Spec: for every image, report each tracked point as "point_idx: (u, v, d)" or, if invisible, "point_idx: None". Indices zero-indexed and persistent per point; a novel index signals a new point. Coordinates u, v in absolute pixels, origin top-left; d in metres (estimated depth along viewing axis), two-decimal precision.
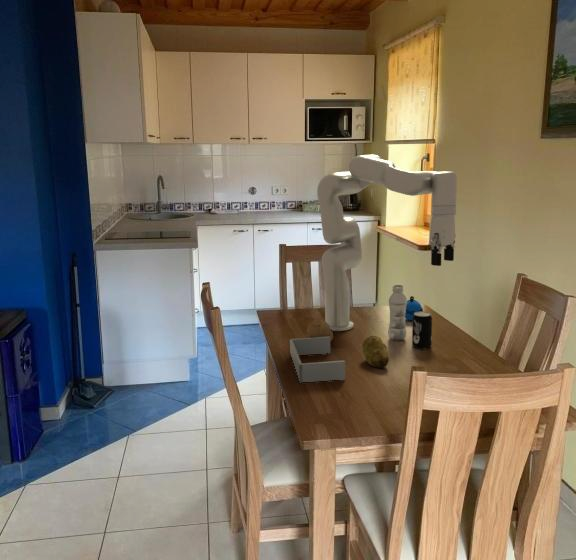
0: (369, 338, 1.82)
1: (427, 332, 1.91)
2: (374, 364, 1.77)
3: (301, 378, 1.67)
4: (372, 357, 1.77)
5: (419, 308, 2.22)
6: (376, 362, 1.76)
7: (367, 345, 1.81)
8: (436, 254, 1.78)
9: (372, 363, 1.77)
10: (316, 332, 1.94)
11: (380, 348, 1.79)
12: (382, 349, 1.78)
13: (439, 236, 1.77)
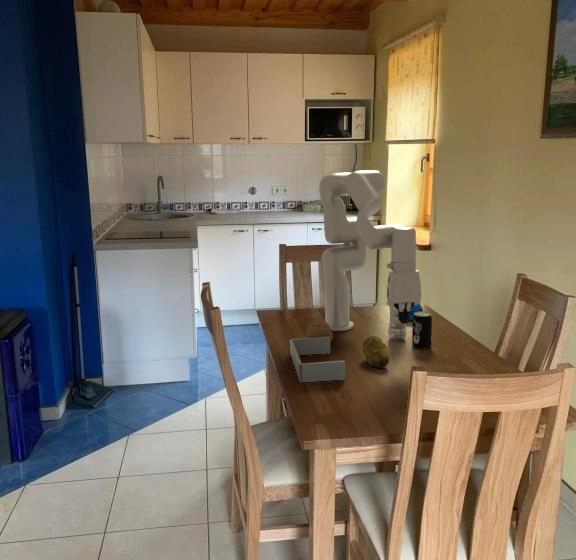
0: (369, 338, 1.82)
1: (427, 332, 1.91)
2: (374, 364, 1.77)
3: (301, 378, 1.67)
4: (372, 357, 1.77)
5: (419, 308, 2.22)
6: (376, 362, 1.76)
7: (367, 345, 1.81)
8: None
9: (372, 363, 1.77)
10: (316, 332, 1.94)
11: (380, 348, 1.78)
12: (383, 349, 1.78)
13: None
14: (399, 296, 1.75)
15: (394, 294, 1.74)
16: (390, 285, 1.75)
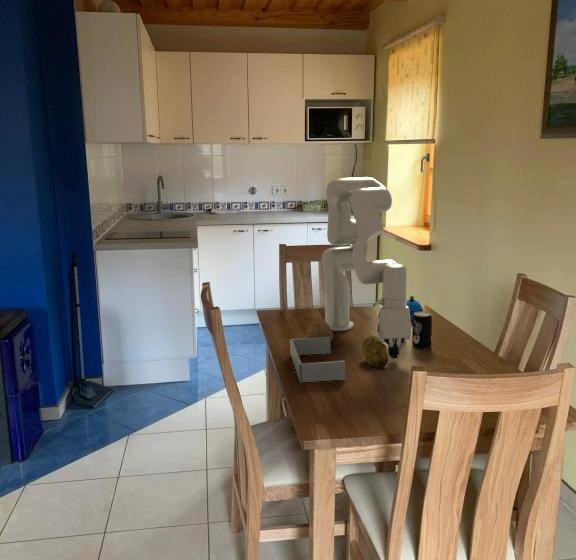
0: (369, 338, 1.82)
1: (427, 332, 1.91)
2: (373, 364, 1.77)
3: (301, 378, 1.67)
4: (371, 357, 1.77)
5: (419, 308, 2.22)
6: (375, 362, 1.76)
7: (367, 345, 1.81)
8: None
9: (371, 363, 1.77)
10: (316, 332, 1.94)
11: (379, 348, 1.78)
12: (382, 349, 1.78)
13: None
14: (389, 332, 1.77)
15: (384, 330, 1.77)
16: (380, 321, 1.77)
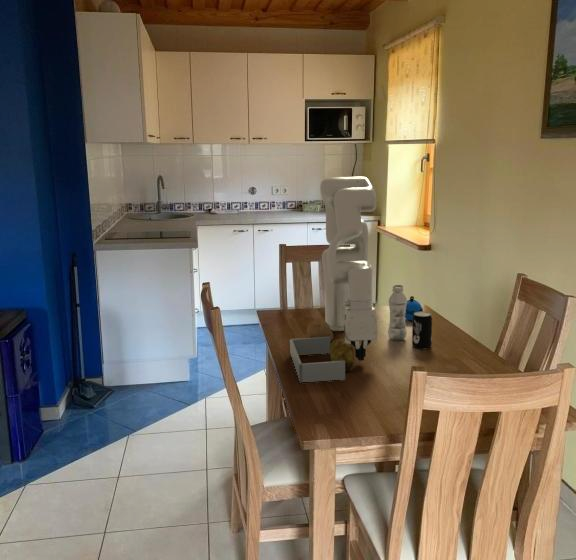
0: (336, 341, 1.81)
1: (427, 332, 1.91)
2: None
3: (301, 378, 1.67)
4: (337, 360, 1.76)
5: (419, 308, 2.22)
6: None
7: (334, 348, 1.79)
8: None
9: None
10: (316, 332, 1.94)
11: (345, 351, 1.77)
12: (348, 352, 1.77)
13: None
14: (355, 334, 1.76)
15: (350, 332, 1.75)
16: (346, 323, 1.76)
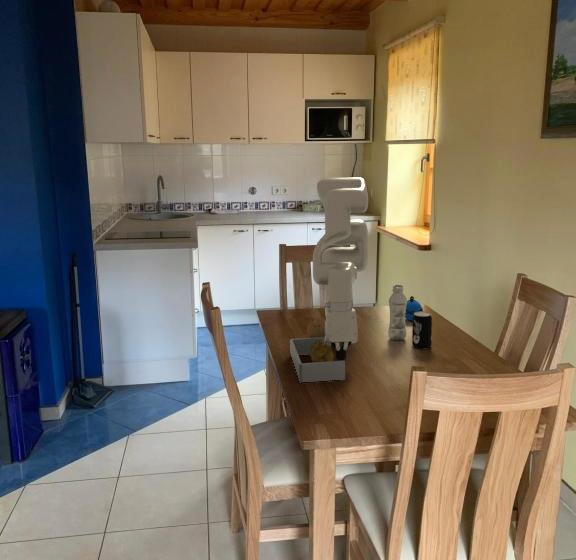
0: (316, 342, 1.80)
1: (427, 332, 1.91)
2: None
3: (301, 378, 1.67)
4: (317, 361, 1.75)
5: (419, 308, 2.22)
6: None
7: (314, 349, 1.79)
8: None
9: None
10: (316, 332, 1.94)
11: (326, 352, 1.76)
12: (328, 353, 1.76)
13: None
14: (335, 335, 1.75)
15: (330, 333, 1.75)
16: (326, 324, 1.75)
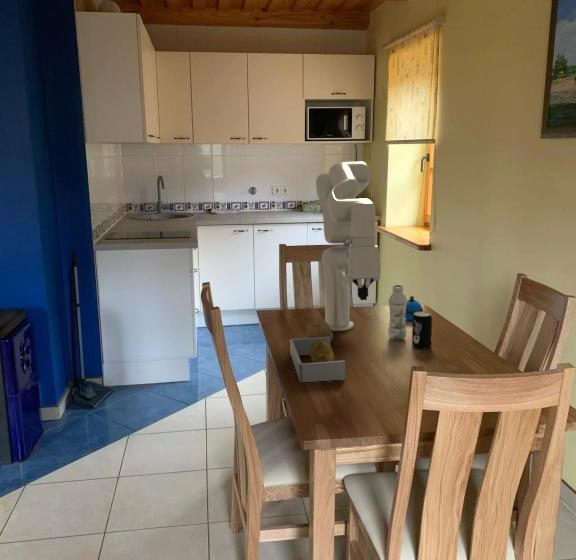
0: (316, 342, 1.80)
1: (427, 332, 1.91)
2: None
3: (301, 378, 1.67)
4: (317, 361, 1.75)
5: (419, 308, 2.22)
6: None
7: (314, 349, 1.79)
8: None
9: None
10: (316, 332, 1.94)
11: (326, 352, 1.76)
12: (328, 353, 1.76)
13: None
14: (358, 272, 1.72)
15: (352, 270, 1.72)
16: (349, 260, 1.72)
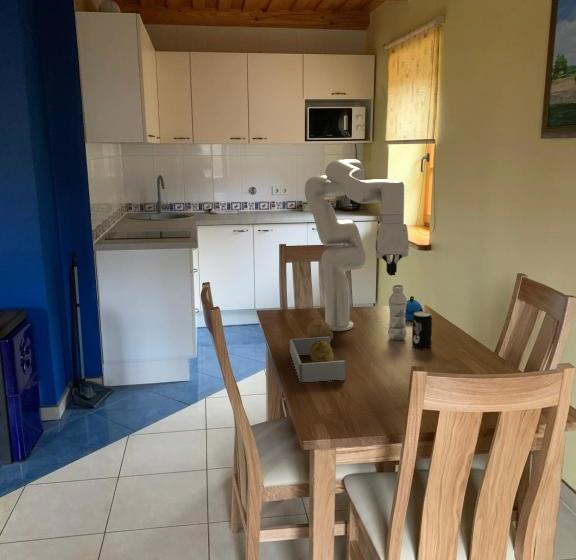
0: (316, 342, 1.80)
1: (427, 332, 1.91)
2: None
3: (301, 378, 1.67)
4: (317, 361, 1.75)
5: (419, 308, 2.22)
6: None
7: (314, 349, 1.79)
8: None
9: None
10: (316, 332, 1.94)
11: (326, 353, 1.76)
12: (328, 353, 1.76)
13: None
14: (387, 248, 1.81)
15: (382, 246, 1.80)
16: (378, 237, 1.80)
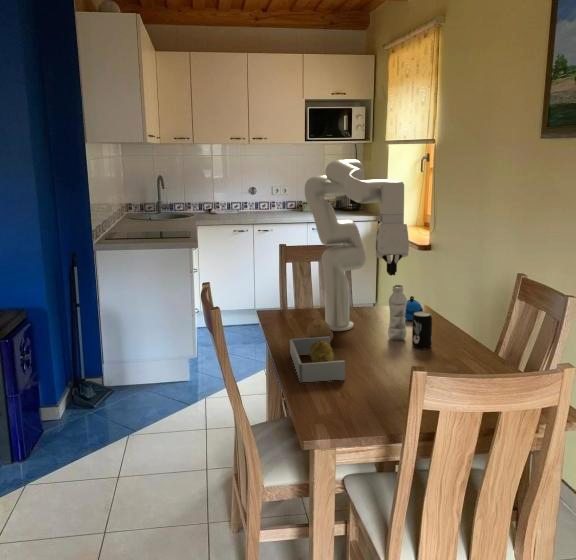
0: (316, 342, 1.80)
1: (427, 332, 1.91)
2: None
3: (301, 378, 1.67)
4: (317, 361, 1.75)
5: (419, 308, 2.22)
6: None
7: (314, 349, 1.79)
8: None
9: None
10: (316, 332, 1.94)
11: (326, 353, 1.76)
12: (328, 353, 1.76)
13: None
14: (387, 248, 1.81)
15: (382, 246, 1.80)
16: (379, 237, 1.80)
